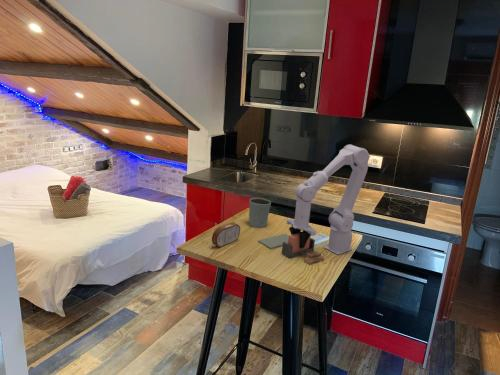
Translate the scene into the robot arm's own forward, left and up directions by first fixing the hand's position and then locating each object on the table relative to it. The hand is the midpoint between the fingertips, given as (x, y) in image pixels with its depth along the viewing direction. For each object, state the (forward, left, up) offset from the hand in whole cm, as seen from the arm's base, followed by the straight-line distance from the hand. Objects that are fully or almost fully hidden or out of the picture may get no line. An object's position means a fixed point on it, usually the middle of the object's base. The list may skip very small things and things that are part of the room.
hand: (298, 245), depth 150 cm
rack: (0, 0, -3) cm, 3 cm away
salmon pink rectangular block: (0, 0, -3) cm, 3 cm away
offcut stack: (0, +9, -3) cm, 9 cm away
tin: (+21, -21, -3) cm, 30 cm away
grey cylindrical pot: (-5, -32, -3) cm, 33 cm away
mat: (0, -12, -3) cm, 12 cm away
